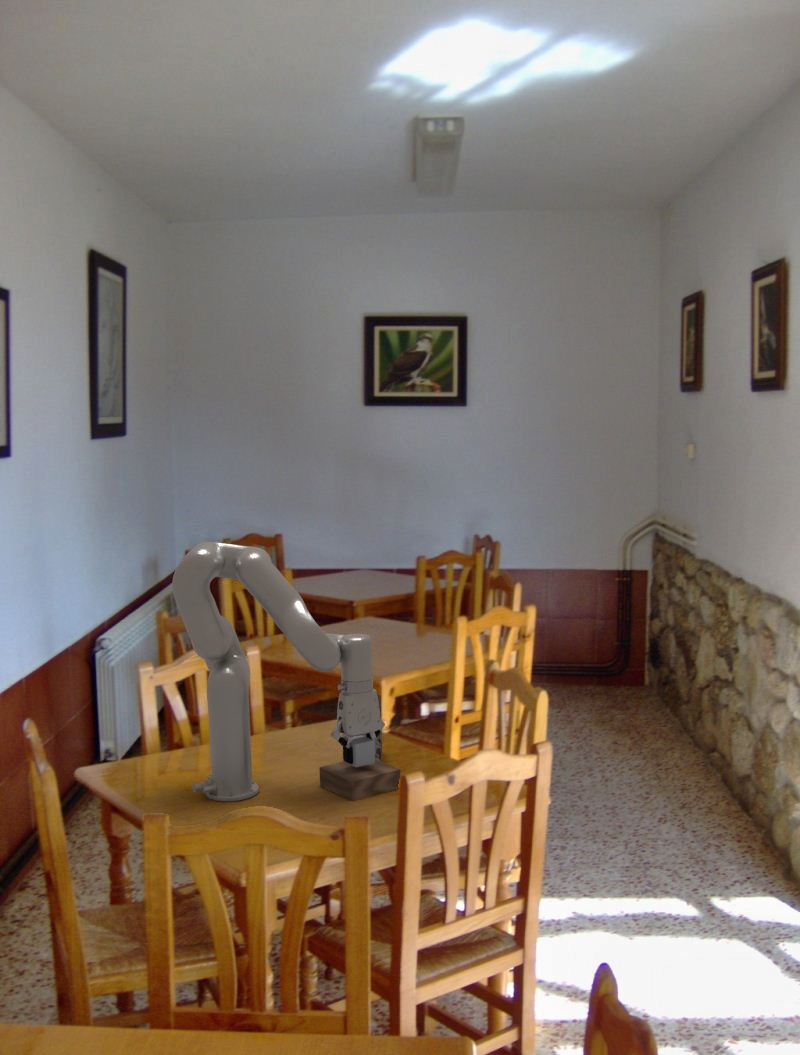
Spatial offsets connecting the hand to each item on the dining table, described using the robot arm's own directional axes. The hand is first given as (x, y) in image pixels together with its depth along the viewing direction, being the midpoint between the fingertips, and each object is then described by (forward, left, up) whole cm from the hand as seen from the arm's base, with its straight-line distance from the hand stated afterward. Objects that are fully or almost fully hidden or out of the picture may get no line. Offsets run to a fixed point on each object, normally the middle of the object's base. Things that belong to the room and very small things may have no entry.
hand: (359, 759), depth 256 cm
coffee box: (+14, +16, -7) cm, 22 cm away
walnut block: (0, 0, -7) cm, 7 cm away
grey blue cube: (0, 0, -1) cm, 1 cm away
